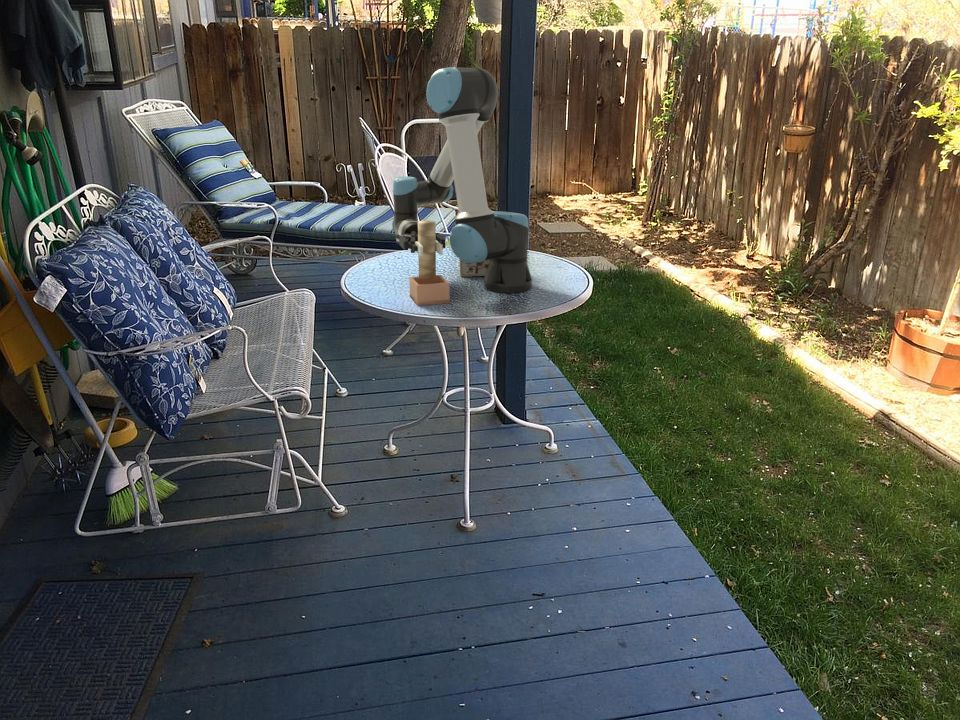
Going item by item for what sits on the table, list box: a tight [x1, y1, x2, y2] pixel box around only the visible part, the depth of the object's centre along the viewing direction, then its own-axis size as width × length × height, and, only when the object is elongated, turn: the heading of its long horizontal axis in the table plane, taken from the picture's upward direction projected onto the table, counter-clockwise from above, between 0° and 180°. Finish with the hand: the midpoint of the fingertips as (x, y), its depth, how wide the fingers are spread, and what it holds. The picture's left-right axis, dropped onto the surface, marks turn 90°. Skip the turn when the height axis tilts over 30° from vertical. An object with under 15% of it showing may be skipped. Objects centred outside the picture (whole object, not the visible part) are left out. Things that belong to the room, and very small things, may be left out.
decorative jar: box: [459, 259, 490, 278], centre depth 246 cm, size 12×12×18 cm
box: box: [408, 274, 451, 307], centre depth 219 cm, size 10×10×6 cm
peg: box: [417, 220, 437, 279], centre depth 215 cm, size 5×5×16 cm
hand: (431, 250), depth 210 cm, fingers closed on peg, 5 cm apart
